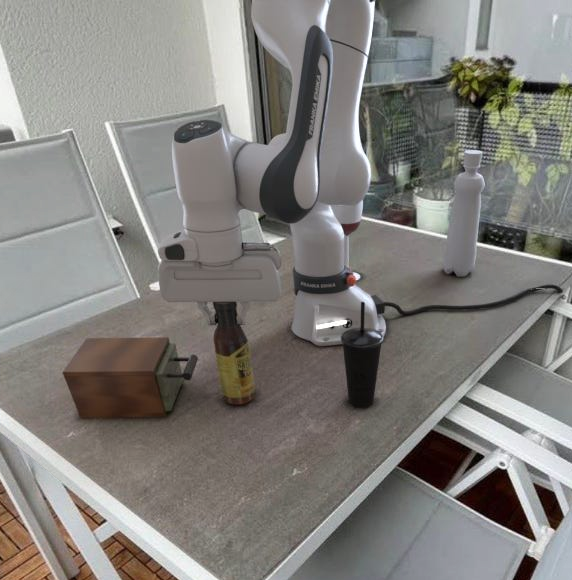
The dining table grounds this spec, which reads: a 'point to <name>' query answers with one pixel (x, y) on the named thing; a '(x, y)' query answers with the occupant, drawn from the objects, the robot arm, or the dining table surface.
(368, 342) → the drinking cup
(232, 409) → the dining table surface
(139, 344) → the cabinet
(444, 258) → the bottle
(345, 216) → the wineglass
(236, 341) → the sauce bottle
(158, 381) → the drawer
